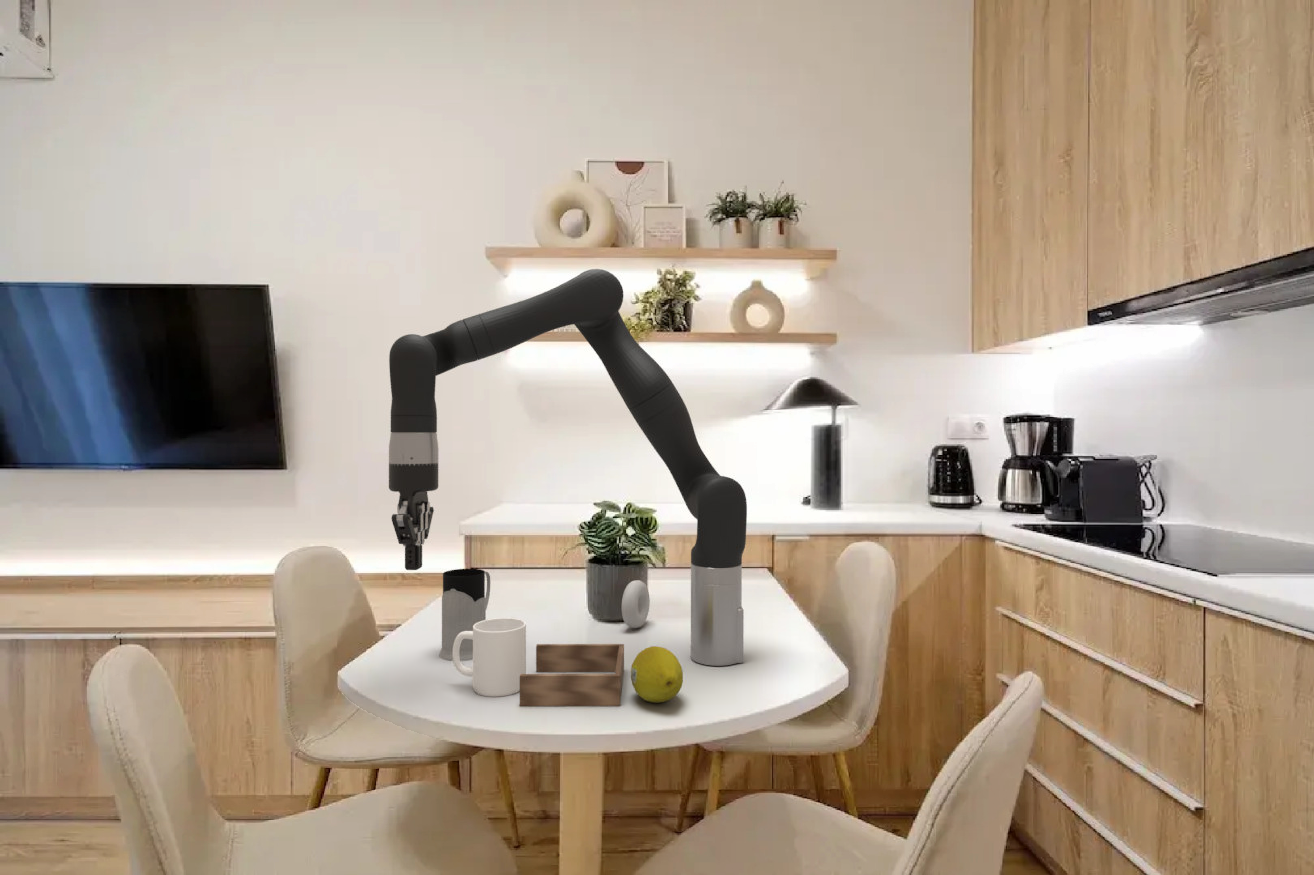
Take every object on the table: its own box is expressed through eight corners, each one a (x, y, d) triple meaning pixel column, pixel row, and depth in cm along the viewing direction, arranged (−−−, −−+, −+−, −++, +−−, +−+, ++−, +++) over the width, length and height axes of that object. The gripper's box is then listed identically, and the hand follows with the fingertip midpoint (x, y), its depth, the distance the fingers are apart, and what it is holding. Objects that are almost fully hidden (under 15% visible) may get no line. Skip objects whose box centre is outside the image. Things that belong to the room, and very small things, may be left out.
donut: (637, 621, 149) (637, 575, 149) (652, 622, 148) (652, 576, 148) (618, 633, 140) (618, 584, 140) (633, 635, 138) (634, 585, 138)
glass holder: (429, 658, 123) (429, 575, 123) (469, 636, 137) (469, 562, 137) (473, 662, 121) (473, 578, 121) (509, 639, 135) (509, 564, 135)
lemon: (627, 689, 108) (627, 639, 108) (675, 687, 110) (676, 637, 110) (635, 717, 98) (635, 661, 98) (688, 714, 99) (688, 659, 99)
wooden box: (624, 670, 117) (624, 644, 117) (620, 705, 102) (620, 675, 102) (536, 670, 117) (537, 644, 117) (519, 706, 102) (519, 675, 102)
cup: (516, 698, 105) (516, 632, 105) (441, 695, 106) (441, 630, 106) (532, 679, 113) (532, 618, 113) (462, 676, 114) (463, 616, 114)
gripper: (423, 462, 103) (423, 577, 103) (449, 459, 116) (449, 561, 116) (373, 462, 103) (373, 577, 103) (405, 459, 116) (405, 561, 116)
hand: (413, 568), depth 109 cm, fingers closed
